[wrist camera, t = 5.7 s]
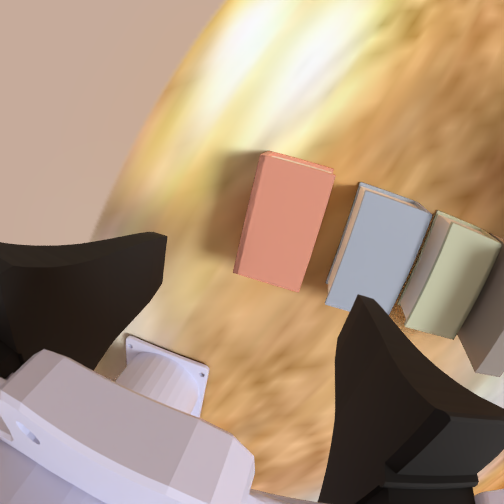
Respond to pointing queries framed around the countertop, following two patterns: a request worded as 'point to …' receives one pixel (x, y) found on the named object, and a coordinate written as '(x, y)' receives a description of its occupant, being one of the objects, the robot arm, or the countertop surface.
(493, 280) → the stone bookend
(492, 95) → the countertop surface
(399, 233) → the slate book
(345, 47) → the countertop surface
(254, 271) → the terracotta book
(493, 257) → the sage book
